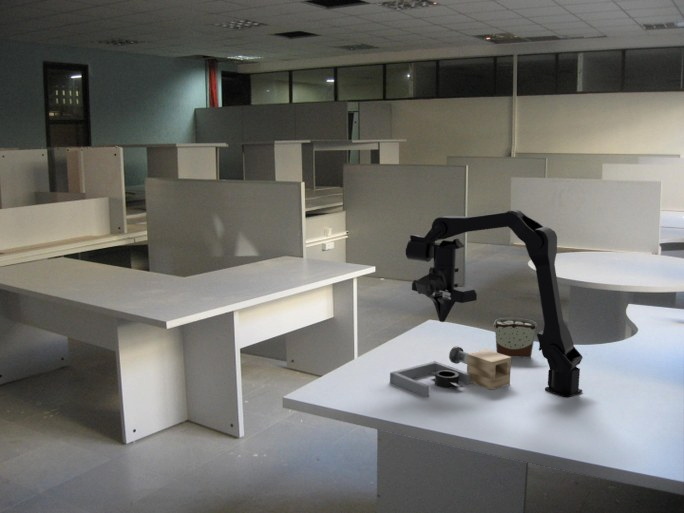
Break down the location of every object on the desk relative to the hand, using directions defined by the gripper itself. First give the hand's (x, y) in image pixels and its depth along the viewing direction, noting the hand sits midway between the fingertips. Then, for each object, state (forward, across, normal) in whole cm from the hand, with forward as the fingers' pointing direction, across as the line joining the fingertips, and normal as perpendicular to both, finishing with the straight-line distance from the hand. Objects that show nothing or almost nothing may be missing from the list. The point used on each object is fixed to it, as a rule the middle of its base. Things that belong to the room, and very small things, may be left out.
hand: (442, 321), depth 185 cm
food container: (+12, +5, +24) cm, 28 cm away
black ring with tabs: (+13, +11, -9) cm, 19 cm away
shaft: (+10, +11, 0) cm, 15 cm away
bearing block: (+12, +16, 0) cm, 20 cm away
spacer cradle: (+12, +8, -12) cm, 19 cm away
